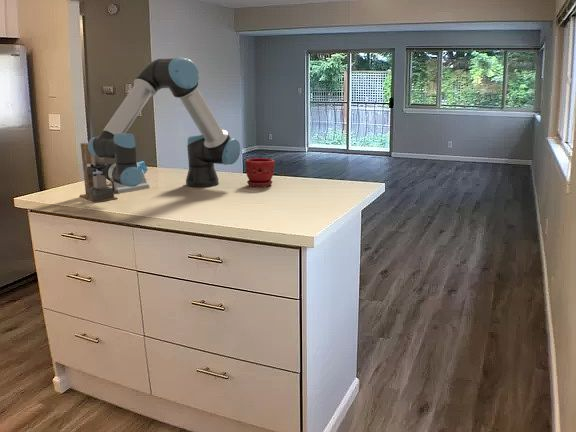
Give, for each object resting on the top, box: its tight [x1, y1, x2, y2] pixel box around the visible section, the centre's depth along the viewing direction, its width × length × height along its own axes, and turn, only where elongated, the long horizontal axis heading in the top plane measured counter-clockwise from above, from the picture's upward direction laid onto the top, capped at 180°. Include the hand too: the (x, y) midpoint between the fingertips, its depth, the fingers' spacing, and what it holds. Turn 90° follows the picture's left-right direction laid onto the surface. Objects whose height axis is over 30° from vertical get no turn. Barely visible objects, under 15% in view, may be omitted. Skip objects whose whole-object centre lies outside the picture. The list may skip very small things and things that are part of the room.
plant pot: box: [245, 158, 275, 188], centre depth 261 cm, size 13×13×12 cm
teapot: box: [137, 160, 148, 178], centre depth 276 cm, size 15×15×11 cm
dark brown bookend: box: [79, 142, 118, 203], centre depth 238 cm, size 17×10×23 cm, turn 40°
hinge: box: [110, 171, 150, 194], centre depth 256 cm, size 17×5×10 cm, turn 138°
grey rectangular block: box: [91, 154, 108, 190], centre depth 235 cm, size 4×4×16 cm
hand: (93, 166), depth 238 cm, fingers closed on grey rectangular block, 4 cm apart
